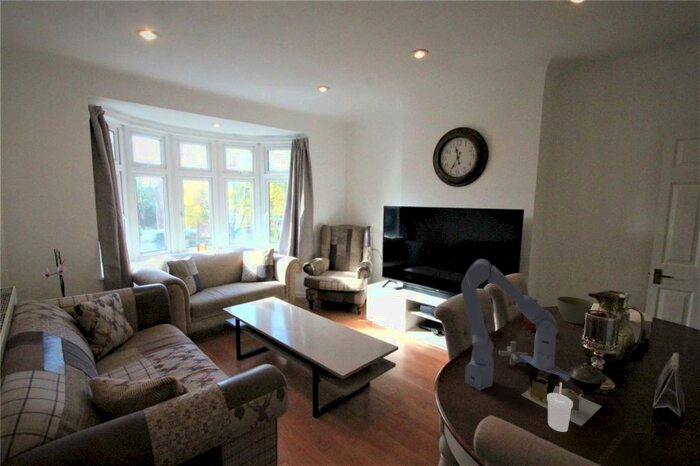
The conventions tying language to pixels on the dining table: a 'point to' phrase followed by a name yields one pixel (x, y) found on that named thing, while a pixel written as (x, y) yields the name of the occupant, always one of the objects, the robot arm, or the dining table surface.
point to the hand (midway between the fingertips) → (541, 390)
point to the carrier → (580, 405)
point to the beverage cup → (559, 410)
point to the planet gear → (539, 389)
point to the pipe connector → (512, 353)
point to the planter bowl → (573, 309)
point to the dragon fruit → (529, 324)
